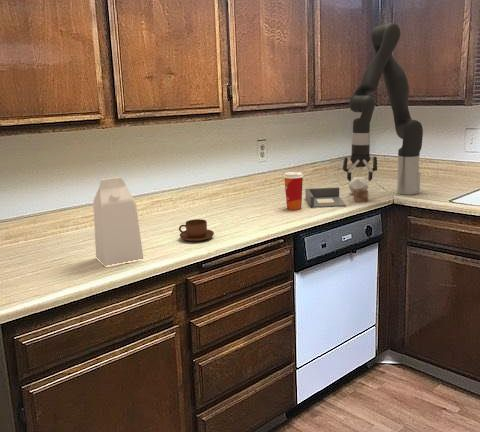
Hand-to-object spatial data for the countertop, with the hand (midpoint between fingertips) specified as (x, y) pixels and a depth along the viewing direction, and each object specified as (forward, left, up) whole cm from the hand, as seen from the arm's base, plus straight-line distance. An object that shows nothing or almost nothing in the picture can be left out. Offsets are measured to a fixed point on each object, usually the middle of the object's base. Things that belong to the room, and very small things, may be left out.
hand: (359, 180), depth 235 cm
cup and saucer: (+67, +48, -9) cm, 83 cm away
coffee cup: (+29, +9, -9) cm, 32 cm away
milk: (+90, +68, -9) cm, 114 cm away
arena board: (+15, 0, -9) cm, 17 cm away
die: (-3, -14, -9) cm, 17 cm away
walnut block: (-1, 0, -9) cm, 9 cm away
